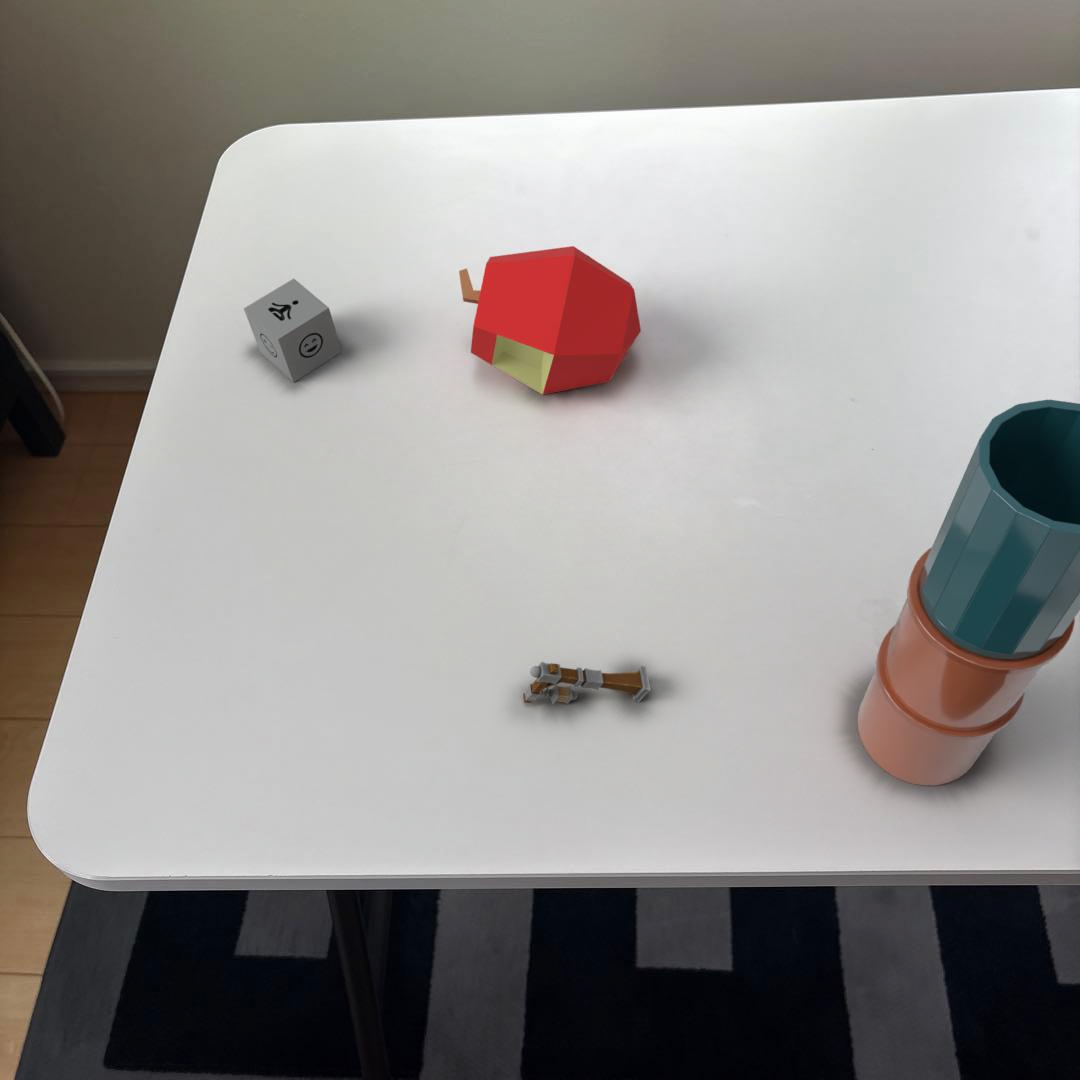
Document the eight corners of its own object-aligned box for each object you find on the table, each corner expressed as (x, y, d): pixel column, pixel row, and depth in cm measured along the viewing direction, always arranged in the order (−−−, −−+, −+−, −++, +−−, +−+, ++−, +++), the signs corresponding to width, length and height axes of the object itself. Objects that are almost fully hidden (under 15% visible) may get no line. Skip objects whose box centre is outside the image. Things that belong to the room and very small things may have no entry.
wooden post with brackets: (509, 685, 70) (533, 652, 67) (619, 694, 73) (647, 663, 70) (511, 710, 69) (536, 677, 66) (622, 719, 72) (651, 688, 69)
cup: (1069, 672, 52) (1165, 546, 43) (916, 644, 54) (977, 516, 44) (1065, 551, 56) (1153, 413, 47) (922, 528, 57) (981, 389, 48)
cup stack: (984, 803, 65) (1078, 682, 52) (847, 775, 67) (905, 651, 53) (986, 685, 70) (1074, 546, 56) (857, 661, 71) (914, 521, 58)
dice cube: (260, 352, 91) (243, 308, 87) (308, 322, 92) (293, 278, 88) (293, 382, 88) (278, 339, 84) (341, 351, 90) (328, 307, 86)
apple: (618, 436, 85) (433, 397, 84) (629, 335, 92) (459, 298, 91) (656, 324, 75) (448, 279, 75) (665, 222, 83) (476, 179, 82)
